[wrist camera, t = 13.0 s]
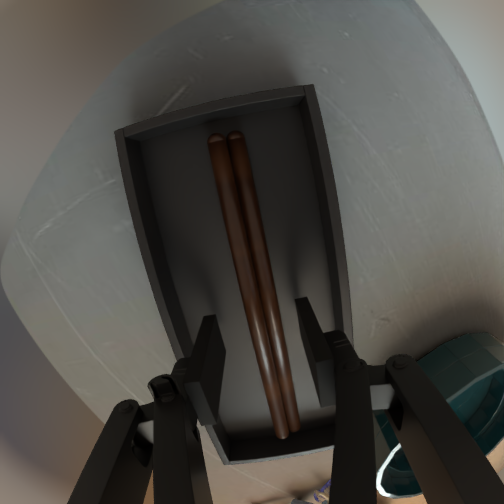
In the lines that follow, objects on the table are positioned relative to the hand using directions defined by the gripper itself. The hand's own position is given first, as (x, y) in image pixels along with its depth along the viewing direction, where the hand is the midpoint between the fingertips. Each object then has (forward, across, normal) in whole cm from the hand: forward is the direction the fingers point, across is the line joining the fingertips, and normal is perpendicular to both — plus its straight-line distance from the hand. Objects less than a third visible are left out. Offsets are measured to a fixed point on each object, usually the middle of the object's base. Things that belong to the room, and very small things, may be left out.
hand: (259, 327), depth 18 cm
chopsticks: (+2, 0, 0) cm, 2 cm away
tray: (+3, 0, 0) cm, 3 cm away
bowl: (+3, +16, -16) cm, 23 cm away
